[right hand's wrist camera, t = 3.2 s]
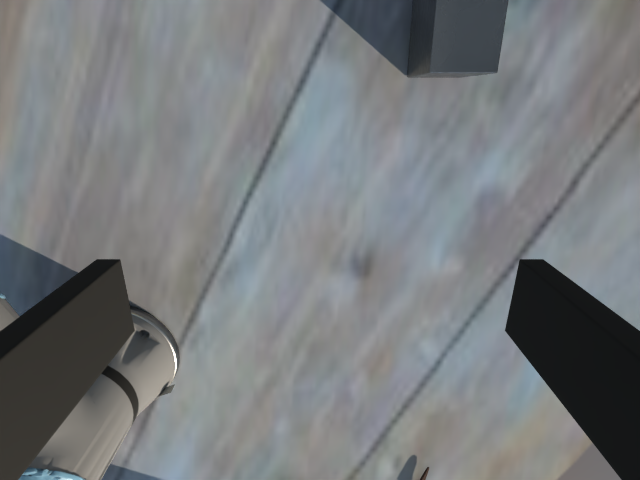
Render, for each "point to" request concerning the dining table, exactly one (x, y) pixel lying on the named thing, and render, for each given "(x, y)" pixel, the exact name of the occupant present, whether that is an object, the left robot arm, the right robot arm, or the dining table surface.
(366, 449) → the dining table surface
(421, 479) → the fork
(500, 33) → the bar
